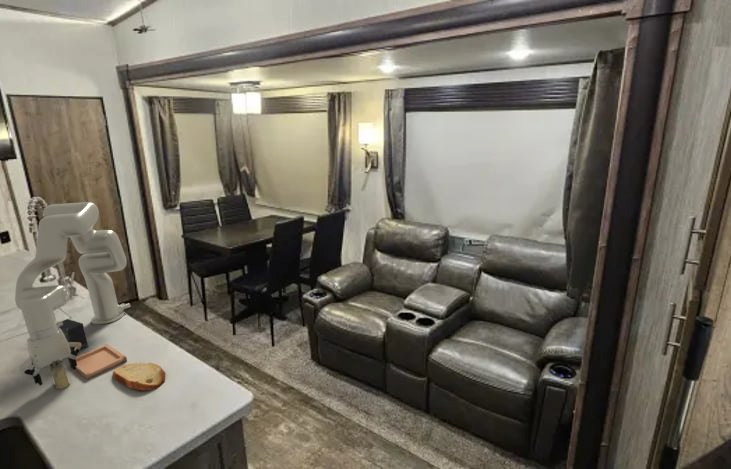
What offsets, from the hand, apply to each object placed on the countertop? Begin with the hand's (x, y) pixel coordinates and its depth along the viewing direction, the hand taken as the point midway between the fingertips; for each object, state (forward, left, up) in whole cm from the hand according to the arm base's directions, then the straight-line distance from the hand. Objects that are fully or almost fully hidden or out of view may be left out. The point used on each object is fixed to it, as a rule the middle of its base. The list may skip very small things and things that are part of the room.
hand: (57, 376), depth 134 cm
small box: (-12, -23, -4) cm, 26 cm away
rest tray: (-13, -3, -3) cm, 14 cm away
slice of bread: (-17, +20, -4) cm, 26 cm away
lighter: (0, 0, -4) cm, 4 cm away
